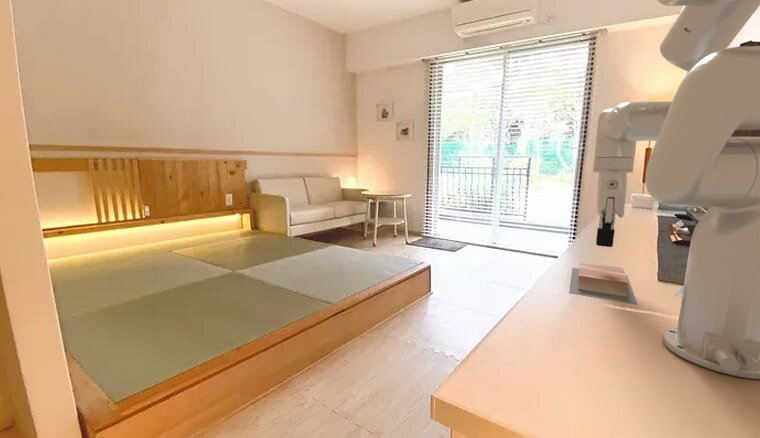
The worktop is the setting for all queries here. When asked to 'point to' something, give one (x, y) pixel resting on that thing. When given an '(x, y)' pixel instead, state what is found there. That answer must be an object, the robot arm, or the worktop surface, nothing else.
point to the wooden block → (602, 279)
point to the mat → (575, 290)
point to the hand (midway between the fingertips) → (604, 245)
